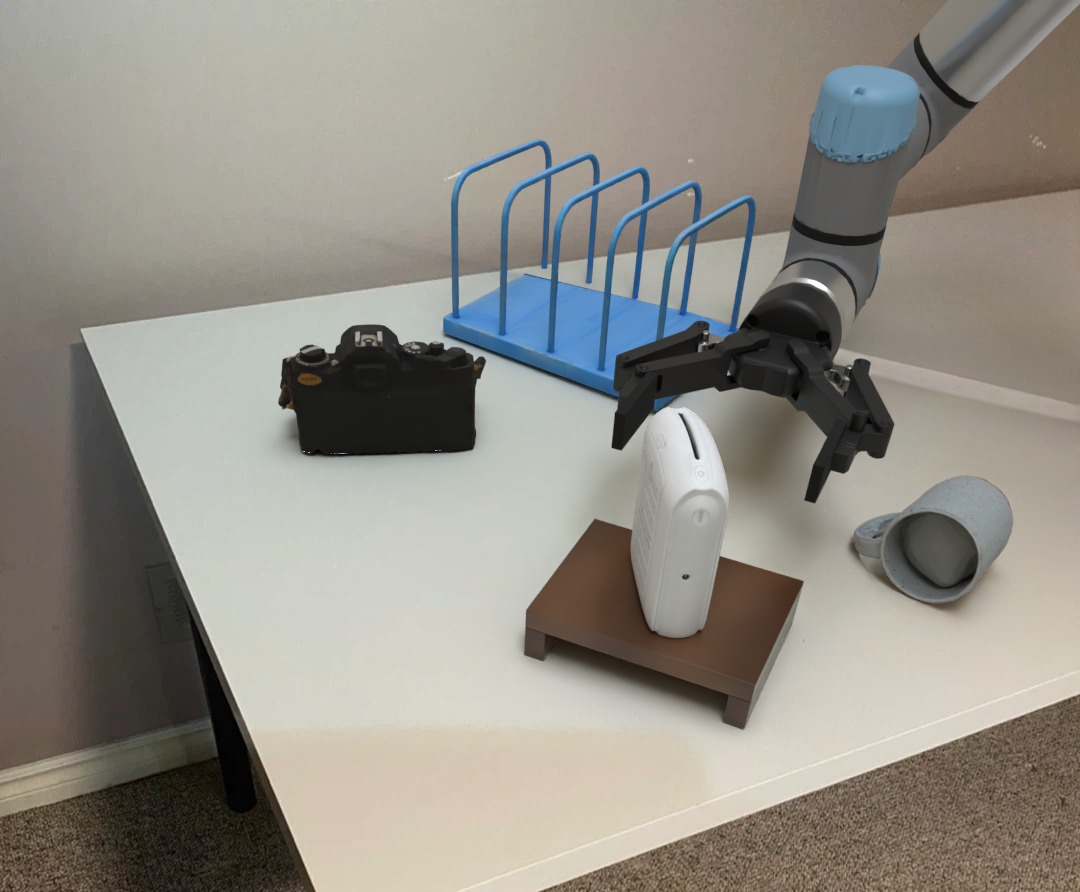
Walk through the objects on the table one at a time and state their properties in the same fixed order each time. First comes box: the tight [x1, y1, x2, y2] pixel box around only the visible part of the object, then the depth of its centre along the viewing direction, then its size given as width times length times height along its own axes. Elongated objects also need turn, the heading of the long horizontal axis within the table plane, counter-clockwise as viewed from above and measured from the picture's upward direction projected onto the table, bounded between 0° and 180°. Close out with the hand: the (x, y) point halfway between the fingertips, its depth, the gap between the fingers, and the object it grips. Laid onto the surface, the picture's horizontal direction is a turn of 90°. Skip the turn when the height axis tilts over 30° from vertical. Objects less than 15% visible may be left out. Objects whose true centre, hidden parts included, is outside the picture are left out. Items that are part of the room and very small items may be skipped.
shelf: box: [523, 518, 805, 730], centre depth 75 cm, size 16×12×4 cm
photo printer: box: [631, 406, 730, 638], centre depth 69 cm, size 10×4×12 cm, turn 5°
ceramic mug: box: [853, 475, 1014, 604], centre depth 81 cm, size 11×8×8 cm
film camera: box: [277, 323, 487, 455], centre depth 91 cm, size 18×12×10 cm
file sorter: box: [442, 138, 757, 411], centre depth 103 cm, size 25×17×15 cm
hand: (713, 457), depth 71 cm, fingers open, 13 cm apart
